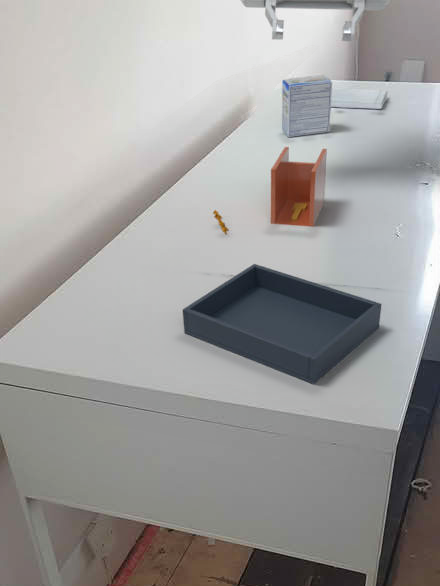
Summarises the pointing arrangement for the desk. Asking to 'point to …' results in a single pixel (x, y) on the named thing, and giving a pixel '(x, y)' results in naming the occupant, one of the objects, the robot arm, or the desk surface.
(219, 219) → the orange stick
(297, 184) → the orange open trough
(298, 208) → the key
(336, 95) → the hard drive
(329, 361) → the tray
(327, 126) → the medicine box
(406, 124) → the desk surface
